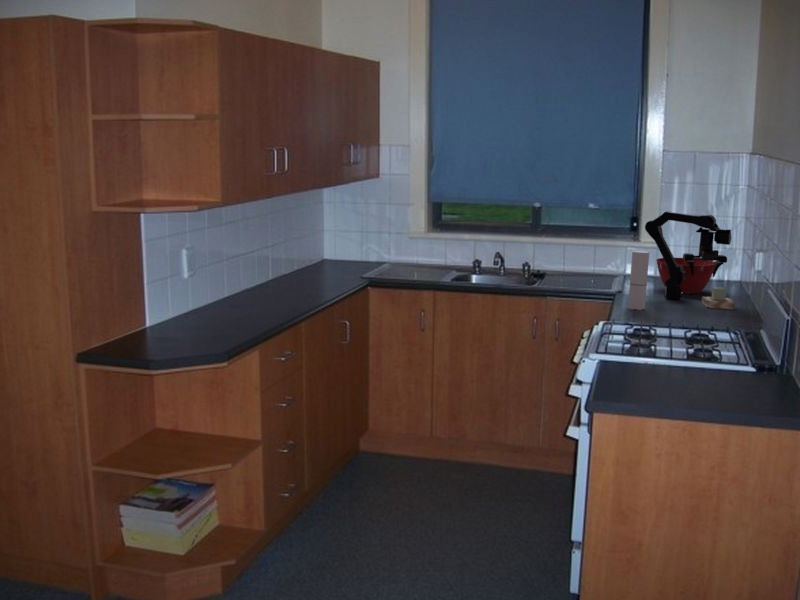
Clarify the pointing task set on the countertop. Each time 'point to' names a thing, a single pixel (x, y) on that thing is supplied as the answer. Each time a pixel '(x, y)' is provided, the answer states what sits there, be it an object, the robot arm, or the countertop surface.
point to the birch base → (718, 303)
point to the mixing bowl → (689, 274)
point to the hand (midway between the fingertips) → (703, 276)
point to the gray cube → (718, 293)
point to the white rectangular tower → (638, 280)
